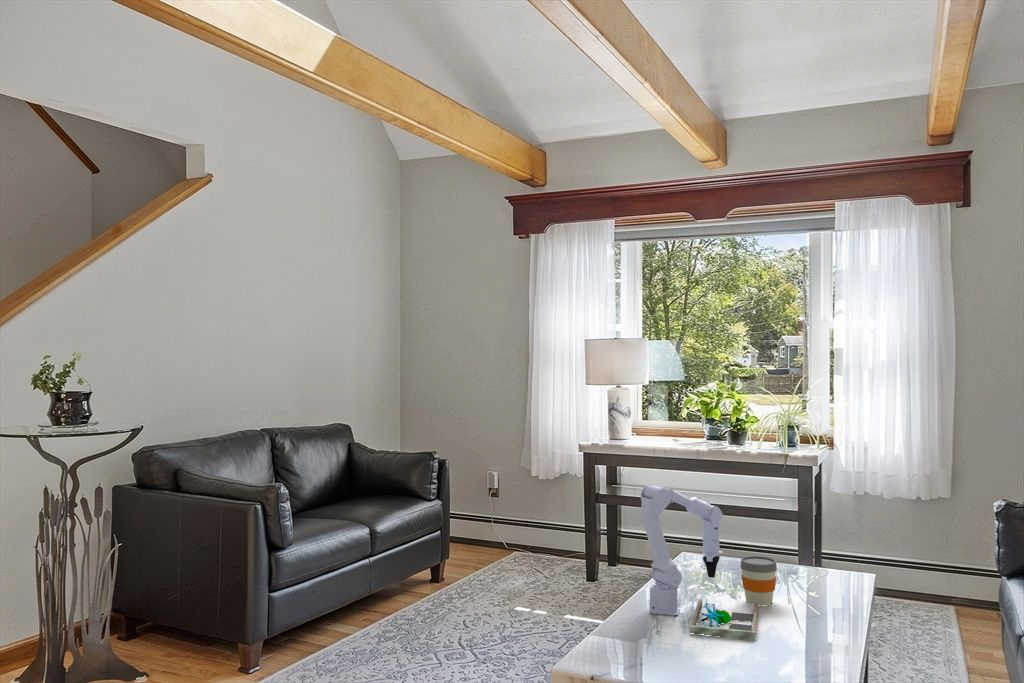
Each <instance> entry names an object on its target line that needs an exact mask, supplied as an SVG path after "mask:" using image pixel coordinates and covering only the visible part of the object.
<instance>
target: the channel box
mask: <svg viewBox="0 0 1024 683" xmlns="http://www.w3.org/2000/svg"><path fill="white" fill-rule="evenodd" d="M702 608H703V599H702V598H699V599H698V602H697V604H696V607H695V610H694V614H693V616H692V619H691V622H690V626H689V634H690V633H694V634H704V635H711V636H710V637H714V636H720V637H719V638H724V637H730V638H729V639H734V638H738V640H745V639H746V640H747V641H756V639H755V638H757V637H756V636H757V629H756V628H758V627H757V626H758V619H759V618H758V616H759V606H758V604H755V605H754V608H753V609H754V611H753V621H752V630H751V631H745V630H735V629H729V628H723V627H714V626H712V627H710V626H702V625H701V626H700V625H697V624H698V621H697V620H699V618H700V615H699V614H701V612H700V611H702ZM698 617H699V618H698ZM696 623H697V624H696Z"/></svg>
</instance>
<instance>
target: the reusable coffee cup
mask: <svg viewBox="0 0 1024 683" xmlns="http://www.w3.org/2000/svg"><path fill="white" fill-rule="evenodd" d="M740 568H741V582H742V588H743V589H744V590H743V591H744V596H745V603H747V604H748V603H749V605H750V604H753V605H752V606H755V604H758V605H761V606H760V607H763V606H762V605H769V604H771V603H772V604H773V601H774V600H773V597H774V592H775V591H776V583H777V576H776V575H777V570H778V568H777V561H776V559H774V558H772V557H768V556H767V557H766V556H760V555H759V556H758V555H756V556H755V555H751V556H744V557H742V558H741V560H740ZM772 604H771V605H772ZM769 606H770V605H769Z"/></svg>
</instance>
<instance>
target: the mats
mask: <svg viewBox="0 0 1024 683" xmlns="http://www.w3.org/2000/svg"><path fill="white" fill-rule="evenodd" d="M730 616H731V621H733V620H739V621H738V622H744V621H751V622H750V623H753V621H752V620H753V618H754V613H747V612H731V615H730ZM730 624H731V625H730ZM752 627H753V624H752V625H751V624H741V623H732V622H730V623H729V627H728V629H735V630H745V631H752V630H751V629H752Z"/></svg>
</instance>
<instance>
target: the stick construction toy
mask: <svg viewBox="0 0 1024 683" xmlns="http://www.w3.org/2000/svg"><path fill="white" fill-rule="evenodd" d="M711 605H712V609H710V608H709V607H708V603H705V604H704V605H703V608H705V609H706V611H707V613H708V614H707V613H700V614H701V616H702V617H703V616H704V618H702V619H700V622H701V621H703V622H709V627H713V624H712V623H713V622H712V621H714V622H715V623H716V624H717V626H719V627H718V628H721V625H722V624H721V623H724V624H726V623H728V622H730V623H731V621H732V620H731V615H730V613H729V612H728V611H727V610H725V609H723V610H720V609H716V603H712V604H711ZM719 624H720V625H719ZM728 624H729V623H728Z"/></svg>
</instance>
